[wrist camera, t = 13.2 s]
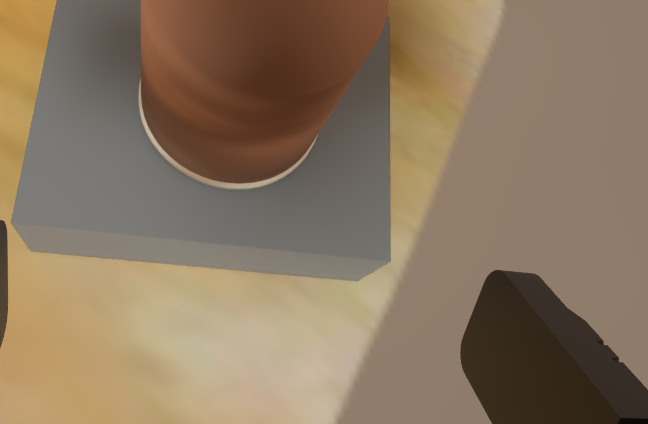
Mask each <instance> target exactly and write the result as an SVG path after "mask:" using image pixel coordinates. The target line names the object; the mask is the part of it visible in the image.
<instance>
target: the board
mask: <svg viewBox="0 0 648 424" xmlns="http://www.w3.org/2000/svg"><path fill="white" fill-rule="evenodd" d="M140 79H141V0H57V2H56V7H55V11H54V16H53V21H52V26H51V31H50V36H49V40H48V45H47V50H46V55H45V60H44V65H43V70H42V74H41V79H40V84H39V89H38V94H37V99H36V103H35V108H34V113H33V118H32V123H31V128H30V133H29V137H28V142H27V147H26V152H25V157H24V162H23V166H22V171H21V176H20V181H19V186H18V191H17V196H16V200H15V205H14V210H13V215H12V220H11V224H12V225H13V227H14V228H15V229H16V231H17V232H18V234H19V235H20V236H21V238H22V239H23V241H24V242H25V244H26V245H27V246H28V248H29V249H30V251H34V252H45V253H56V254H66V255H77V256H88V257H99V258H110V259H121V260H132V261H142V262H153V263H164V264H175V265H186V266H197V267H208V268H218V269H229V270H240V271H251V272H262V273H273V274H284V275H295V276H305V277H316V278H327V279H338V280H349V281H359V280H360V279H362V278H364V277H365V276H367V275H369V274H371V273H372V272H374V271H376V270H377V269H379V268H381V267H382V266H384V265H386V264H387V263H389V262H391V250H390V41H389V17H387V16H386V19H385V24H384V27H383V30H382V32H381V35H380V37H379V39H378V41H377V42H376V44H375V46H374V47H373V49H372V50H371V52H370V54H369V55H368V57H367V58H366V60H365V61H364V63H363V64H362V66H361V68H360V69H359V71H358V72H357V74H356V75H355V77H354V79H353V80H352V82H351V83H350V85H349V86H348V88H347V89H346V91H345V93H344V94H343V96H342V97H341V99H340V100H339V102H338V104H337V105H336V107H335V108H334V110H333V111H332V113H331V114H330V116H329V118H328V119H327V121H326V122H325V124H324V125H323V127H322V129H321V130H320V132H319V133H318V136H317V138H316V141H315V143H314V145H313V147H312V148H311V150H310V152H309V153H308V155H307V156H306V158H305V159H304V160H303V161H302V163H301V164H300V165H299V166H298V167H297V168H296V169H295V170H293V171H292V172H291V173H290V174H288V175H287V176H285V177H284V178H282V179H280V180H278V181H276V182H274V183H272V184H269V185H266V186H263V187H259V188H254V189H248V190H227V189H220V188H215V187H211V186H208V185H205V184H201V183H199V182H197V181H194V180H192V179H190V178H188V177H187V176H185V175H183V174H182V173H180V172H178V171H177V170H176V169H174V168H173V167H172V166H171V165H169V164H168V163H167V162H166V161H165V160H164V159H163V158H162V157H161V156H160V155H159V153H158V152H157V151H156V149H155V148H154V147H153V145H152V144H151V142H150V140H149V138H148V137H147V135H146V132H145V130H144V127H143V125H142V121H141V117H140V113H139V102H138V94H139V83H140Z"/></svg>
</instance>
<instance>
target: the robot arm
mask: <svg viewBox="0 0 648 424" xmlns="http://www.w3.org/2000/svg"><path fill="white" fill-rule="evenodd" d="M7 314H8V256H7V228H6V224H5V222H4V221H2V220H0V347H1V344H2V341H3V338H4V333H5V328H6V322H7ZM460 353H461V364H462V368H463V371H464V373H465V375H466V377H467V379H468V380H469V382H470V384H471V386H472V388H473V389H474V391H475V393H476V395H477V397H478V399H479V400H480V402H481V404H482V406H483V408H484V409H485V411H486V413H487V415H488V417H489V419H490V420H491V422H492V424H648V390H647V389H646V388H645V386H644V385H643V384H642V383H641V382H640V381H639V380H638V379H637V378H636V376H635V375H634V374H633V373H632V372H631V371H630V370H629V369H628V368H627V366H625V364H624V363H622V362H619V358H618V356H616V354H615V353H614V352H613V351H612V350H611V349H610V348H609V347H608V346H607V345H604V344H603V340H602V339H601V338H600V337H599V335H598V334H597V333H596V332H595V331H594V330H593V329H592V328H591V327H590V325H589V324H588V323H587V322H586V321H585V320H583V319H582V318H581V317H579V316H578V315H576V314H575V313H574V312H572V311H571V310H569V309H568V308H567V307H566V306H565V305H564V304H563V303H562V302H561V300H560V299H559V298H558V297H557V296H556V295H555V294H554V293H553V291H552V290H551V289H550V288H549V287H548V286H547V285H546V284H545V282H544V281H543V280H542V279H541V278H540V277H539V276H538V275H536V274H532V273H522V272H511V271H502V270H495V271H493V272H491V273H490V274H489V275H488V277H487V278H486V280H485V282H484V285H483V287H482V290H481V292H480V295H479V297H478V300H477V303H476V305H475V308H474V310H473V313H472V315H471V318H470V320H469V323H468V326H467V328H466V331H465V333H464V336H463V339H462V343H461V352H460Z"/></svg>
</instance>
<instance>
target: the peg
mask: <svg viewBox="0 0 648 424" xmlns="http://www.w3.org/2000/svg"><path fill="white" fill-rule="evenodd" d="M387 4H388V0H141V79H140V83H139V94H138V102H139V113H140V117H141V121H142V125H143V127H144V130H145V132H146V135H147V137H148V138H149V140H150V142H151V144H152V145H153V147H154V148H155V149H156V151H157V152H158V153H159V155H160V156H161V157H162V158H163V159H164V160H165V161H166V162H167V163H168V164H169V165H171V166H172V167H173V168H174V169H176V170H177V171H178V172H180V173H182V174H183V175H185V176H187V177H188V178H190V179H192V180H194V181H197V182H199V183H201V184H205V185H208V186H211V187H215V188H220V189H227V190H248V189H254V188H259V187H263V186H266V185H269V184H272V183H274V182H276V181H278V180H280V179H282V178H284V177H285V176H287V175H288V174H290V173H291V172H292V171H293V170H295V169H296V168H297V167H298V166H299V165H300V164H301V163H302V161H303V160H304V159H305V158H306V156H307V155H308V153H309V152H310V150H311V148H312V147H313V145H314V143H315V141H316V138H317V136H318V133H319V132H320V130H321V129H322V127H323V125H324V124H325V122H326V121H327V119H328V118H329V116H330V114H331V113H332V111H333V110H334V108H335V107H336V105H337V104H338V102H339V100H340V99H341V97H342V96H343V94H344V93H345V91H346V89H347V88H348V86H349V85H350V83H351V82H352V80H353V79H354V77H355V75H356V74H357V72H358V71H359V69H360V68H361V66H362V64H363V63H364V61H365V60H366V58H367V57H368V55H369V54H370V52H371V50H372V49H373V47H374V46H375V44H376V42H377V41H378V39H379V37H380V35H381V32H382V30H383V27H384V24H385V19H386V15H387Z"/></svg>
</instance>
